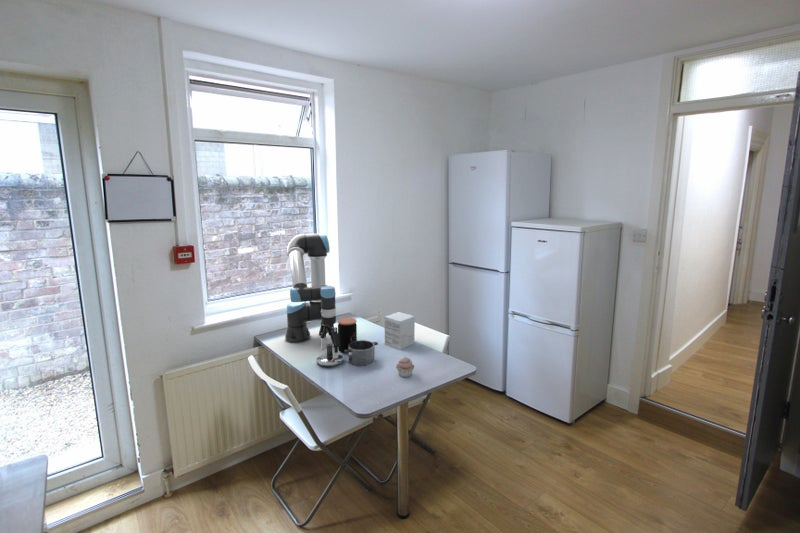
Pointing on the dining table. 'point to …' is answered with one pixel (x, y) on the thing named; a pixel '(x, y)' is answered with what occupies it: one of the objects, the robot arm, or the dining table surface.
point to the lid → (329, 358)
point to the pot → (361, 353)
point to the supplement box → (399, 330)
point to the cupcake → (405, 367)
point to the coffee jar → (346, 332)
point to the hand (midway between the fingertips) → (329, 353)
